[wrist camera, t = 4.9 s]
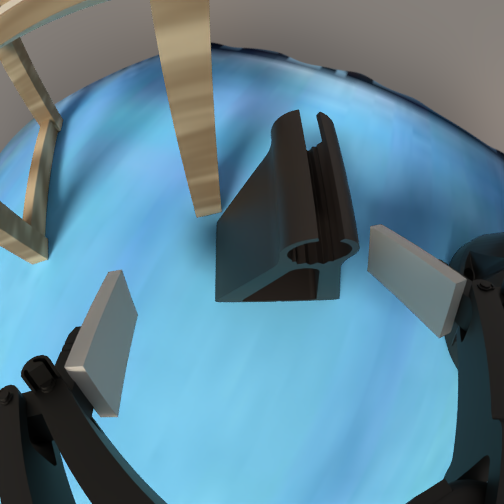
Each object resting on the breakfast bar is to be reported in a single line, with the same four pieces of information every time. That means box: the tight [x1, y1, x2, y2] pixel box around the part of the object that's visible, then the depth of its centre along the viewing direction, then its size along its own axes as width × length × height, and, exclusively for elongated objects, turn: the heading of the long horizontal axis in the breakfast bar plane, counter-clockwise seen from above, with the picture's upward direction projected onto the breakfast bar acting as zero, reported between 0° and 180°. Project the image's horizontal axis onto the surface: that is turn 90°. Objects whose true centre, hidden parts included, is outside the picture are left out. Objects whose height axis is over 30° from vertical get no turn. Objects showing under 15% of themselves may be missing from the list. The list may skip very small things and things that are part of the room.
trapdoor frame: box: [0, 0, 222, 264], centre depth 15 cm, size 18×18×19 cm
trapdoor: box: [0, 0, 109, 48], centre depth 7 cm, size 13×16×3 cm
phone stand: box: [215, 110, 360, 302], centre depth 16 cm, size 9×6×12 cm, turn 91°
